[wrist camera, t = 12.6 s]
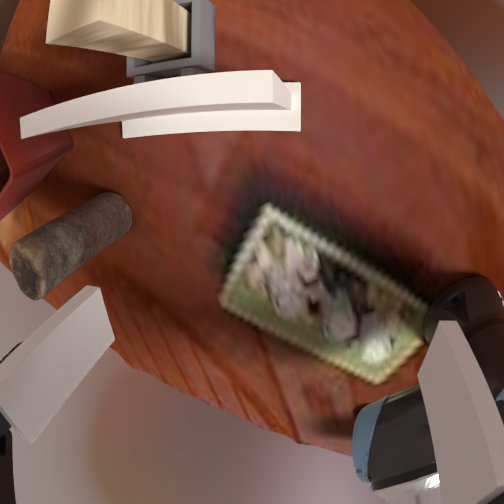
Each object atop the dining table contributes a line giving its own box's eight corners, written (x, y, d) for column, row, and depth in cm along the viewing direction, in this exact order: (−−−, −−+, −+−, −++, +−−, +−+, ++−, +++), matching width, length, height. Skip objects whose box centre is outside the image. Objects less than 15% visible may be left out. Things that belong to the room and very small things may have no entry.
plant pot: (96, 150, 40) (12, 177, 25) (39, 208, 47) (-26, 243, 32) (53, 63, 35) (-26, 65, 20) (4, 130, 42) (-61, 149, 27)
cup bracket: (299, 22, 29) (285, -59, 11) (300, 130, 35) (290, 144, 17) (124, 44, 33) (17, 26, 15) (126, 137, 39) (18, 166, 21)
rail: (197, 18, 23) (106, -40, 9) (197, 57, 25) (98, 19, 11) (158, 26, 24) (52, -13, 10) (157, 63, 26) (45, 43, 12)
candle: (104, 237, 47) (21, 301, 29) (90, 196, 44) (-3, 247, 26) (139, 231, 45) (54, 301, 27) (125, 185, 42) (27, 237, 24)
